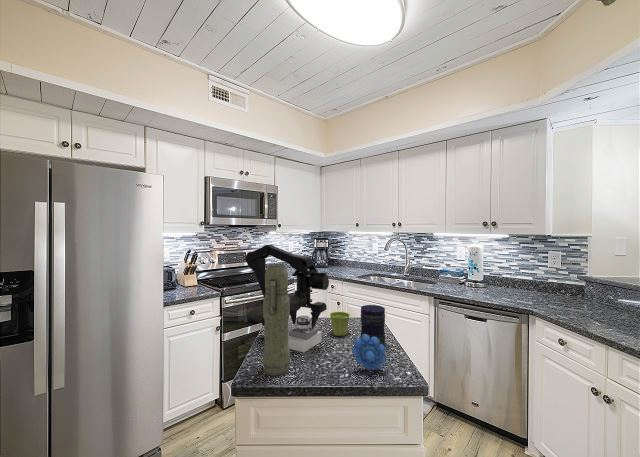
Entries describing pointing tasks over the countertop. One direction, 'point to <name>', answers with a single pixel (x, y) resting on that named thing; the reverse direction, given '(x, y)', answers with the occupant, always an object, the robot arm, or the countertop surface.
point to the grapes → (369, 352)
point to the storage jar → (373, 322)
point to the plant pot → (339, 322)
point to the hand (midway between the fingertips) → (303, 325)
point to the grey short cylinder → (303, 324)
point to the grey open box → (303, 339)
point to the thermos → (276, 321)
